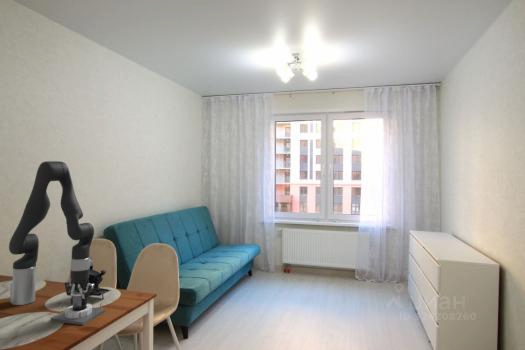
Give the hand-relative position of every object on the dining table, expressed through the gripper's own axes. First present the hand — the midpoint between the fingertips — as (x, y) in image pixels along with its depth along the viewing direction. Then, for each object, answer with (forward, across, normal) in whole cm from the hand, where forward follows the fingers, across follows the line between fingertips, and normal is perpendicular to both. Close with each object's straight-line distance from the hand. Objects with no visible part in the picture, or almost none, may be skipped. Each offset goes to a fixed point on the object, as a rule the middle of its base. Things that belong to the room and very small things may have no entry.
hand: (78, 305), depth 146 cm
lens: (+2, 0, 0) cm, 2 cm away
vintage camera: (+5, -9, +20) cm, 22 cm away
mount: (+5, 0, 0) cm, 5 cm away
